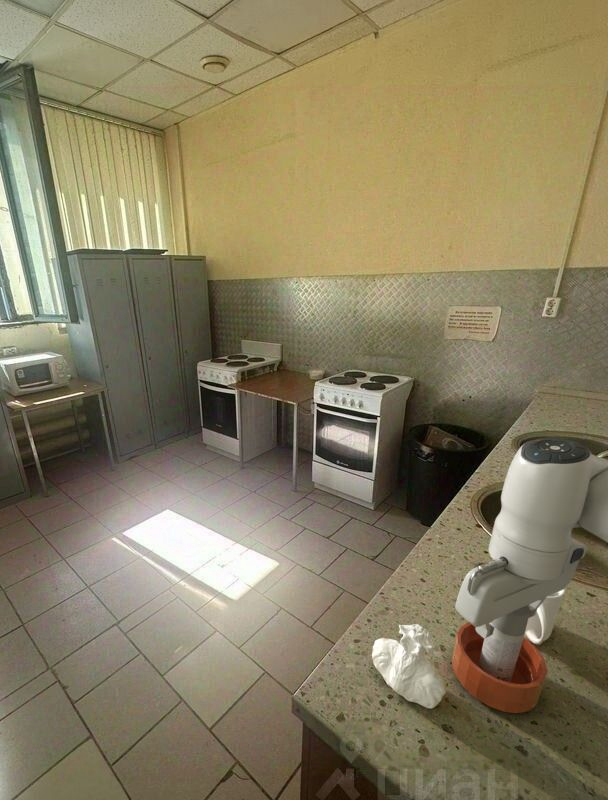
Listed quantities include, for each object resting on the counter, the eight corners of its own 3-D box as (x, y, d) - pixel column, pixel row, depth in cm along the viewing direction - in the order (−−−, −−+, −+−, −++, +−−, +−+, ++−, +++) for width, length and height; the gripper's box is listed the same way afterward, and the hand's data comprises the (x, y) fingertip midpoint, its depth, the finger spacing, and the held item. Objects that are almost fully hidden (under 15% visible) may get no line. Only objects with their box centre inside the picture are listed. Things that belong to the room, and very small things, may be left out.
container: (511, 671, 65) (532, 601, 60) (508, 694, 62) (530, 621, 56) (479, 657, 68) (496, 588, 62) (475, 678, 64) (492, 607, 59)
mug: (506, 653, 69) (520, 606, 65) (491, 603, 80) (501, 560, 76) (565, 666, 66) (582, 618, 63) (541, 612, 77) (554, 568, 73)
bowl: (514, 649, 70) (522, 623, 68) (554, 720, 58) (565, 692, 56) (441, 642, 71) (446, 617, 69) (467, 710, 60) (474, 683, 58)
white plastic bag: (441, 718, 61) (470, 650, 62) (426, 725, 56) (457, 651, 57) (373, 665, 70) (400, 607, 71) (355, 667, 65) (383, 604, 66)
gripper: (494, 585, 50) (474, 664, 54) (595, 544, 57) (569, 618, 62) (453, 555, 55) (438, 629, 60) (549, 522, 62) (529, 591, 67)
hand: (505, 623), depth 61 cm, fingers open, 8 cm apart
